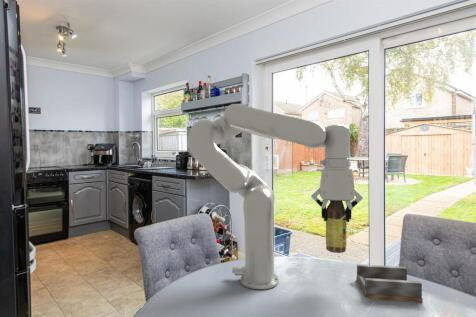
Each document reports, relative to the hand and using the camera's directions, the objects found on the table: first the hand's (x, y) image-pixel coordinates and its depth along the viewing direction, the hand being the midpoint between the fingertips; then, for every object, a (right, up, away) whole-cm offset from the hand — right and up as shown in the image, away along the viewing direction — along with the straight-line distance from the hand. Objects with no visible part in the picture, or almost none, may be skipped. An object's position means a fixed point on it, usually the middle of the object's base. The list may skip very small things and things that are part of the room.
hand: (336, 220), depth 97 cm
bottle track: (+15, -21, -2) cm, 26 cm away
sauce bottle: (0, -10, 0) cm, 10 cm away
